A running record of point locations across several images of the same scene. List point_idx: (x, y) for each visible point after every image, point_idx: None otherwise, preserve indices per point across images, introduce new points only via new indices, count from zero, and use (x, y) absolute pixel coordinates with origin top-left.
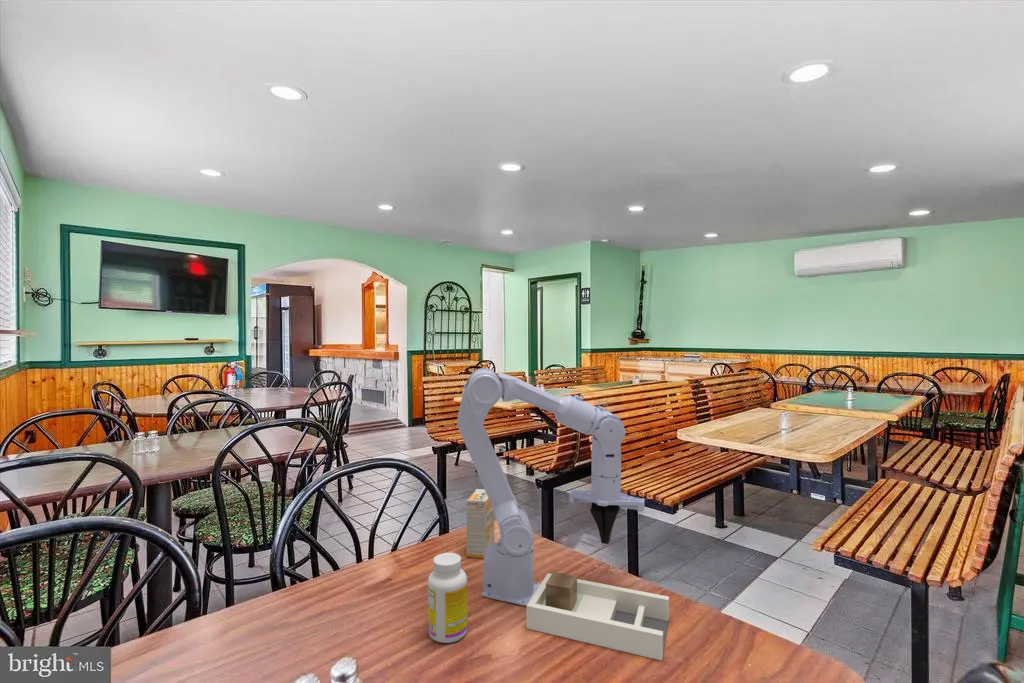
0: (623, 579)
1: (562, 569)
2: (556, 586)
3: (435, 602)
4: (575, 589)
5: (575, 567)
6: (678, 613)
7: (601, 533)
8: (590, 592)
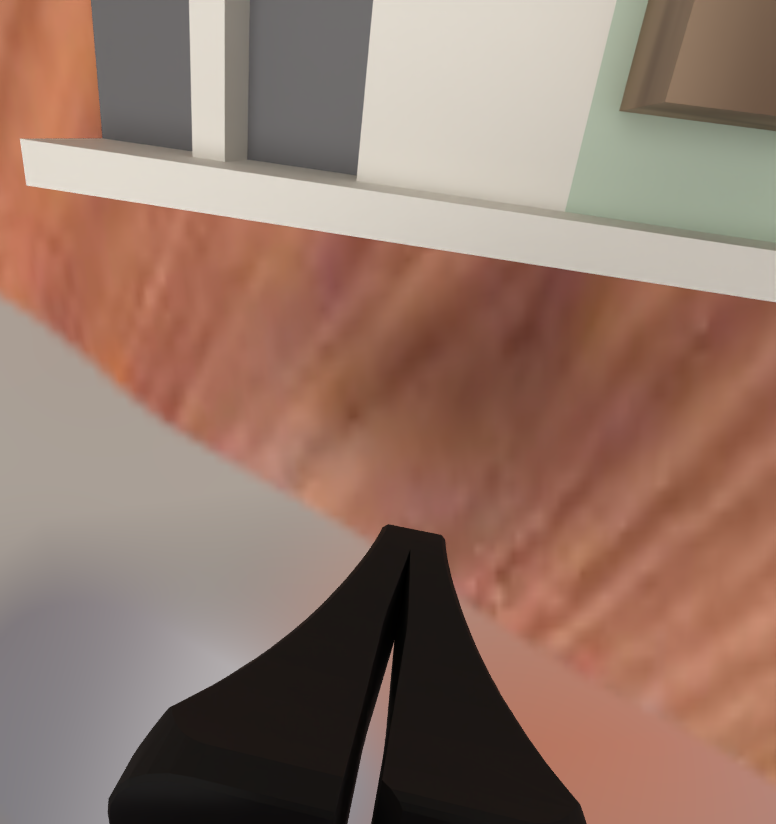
0: (356, 492)
1: (679, 543)
2: None
3: None
4: (657, 50)
5: (604, 568)
6: (77, 240)
7: (433, 584)
8: (524, 208)
